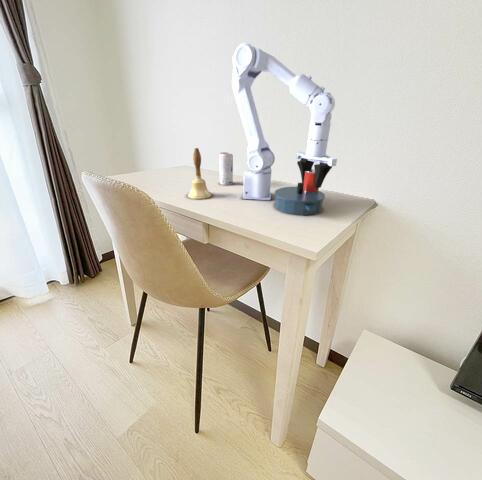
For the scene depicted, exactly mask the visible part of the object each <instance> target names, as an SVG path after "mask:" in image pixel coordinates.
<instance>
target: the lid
mask: <svg viewBox="0 0 482 480" xmlns="http://www.w3.org/2000/svg"><path fill="white" fill-rule="evenodd" d="M303 186H304V183H302V182H297V185H296V186H285V187H280V188H278V189H275V190H274V195H275V197H276V196H277V197H278V198H280V199H283V200H286V201H291V202H298V203H314V202H319V201H322V200H323V201H324V200H325V199H326V195H325V193H324V192H322V191H320V190H319V191H318V193H306V192H304V191H303Z"/></svg>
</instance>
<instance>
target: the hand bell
mask: <svg viewBox="0 0 482 480" xmlns="http://www.w3.org/2000/svg"><path fill="white" fill-rule="evenodd" d="M192 159H193V165H194V167H195V179H193V180H191V181H192V182H191V189H190V192H188V194H187V198H189V199H193V200H204V199H209V198H211V197H212V193H211V192H210V191H209V189H208V187H207V183H206V180H205V179H204V178H202V173H201V165H202V155H201V151H200V149H199V147H194V150H193V155H192Z"/></svg>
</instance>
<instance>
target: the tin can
mask: <svg viewBox="0 0 482 480" xmlns="http://www.w3.org/2000/svg"><path fill="white" fill-rule="evenodd" d="M303 191H304V192H306V193H318V191H320V188H315V168H312V169H307V170H305V176H304V186H303Z"/></svg>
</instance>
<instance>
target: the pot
mask: <svg viewBox="0 0 482 480" xmlns="http://www.w3.org/2000/svg"><path fill="white" fill-rule="evenodd" d="M274 205H275V208H276V210H278V211H279V212H282V213H284V214H289V215H295V216H312V215H316V214H319V213H320V212H322V209H323V205H324V200H322V201H319V202H314V203H298V202H291V201H286V200H283V199H280V198H278V197H277V196H276V195H275V203H274Z"/></svg>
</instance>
